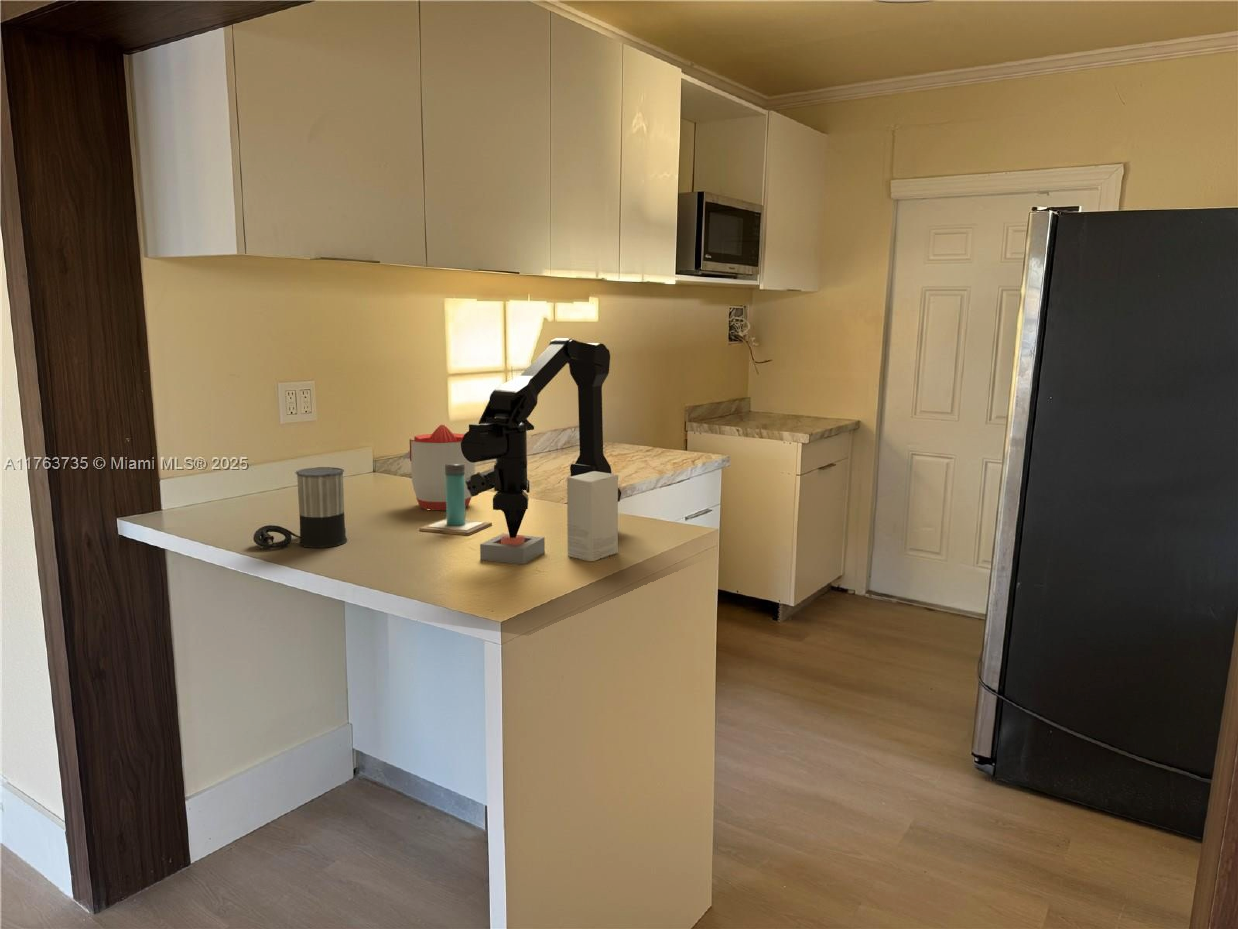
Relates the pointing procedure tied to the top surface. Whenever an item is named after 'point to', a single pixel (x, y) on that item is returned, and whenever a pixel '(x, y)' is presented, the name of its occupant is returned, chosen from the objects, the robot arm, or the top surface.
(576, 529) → the skincare box
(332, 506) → the milk frother
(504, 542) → the button
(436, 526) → the brown picture frame
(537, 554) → the button box
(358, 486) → the top surface
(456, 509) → the marker
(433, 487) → the citrus juicer
